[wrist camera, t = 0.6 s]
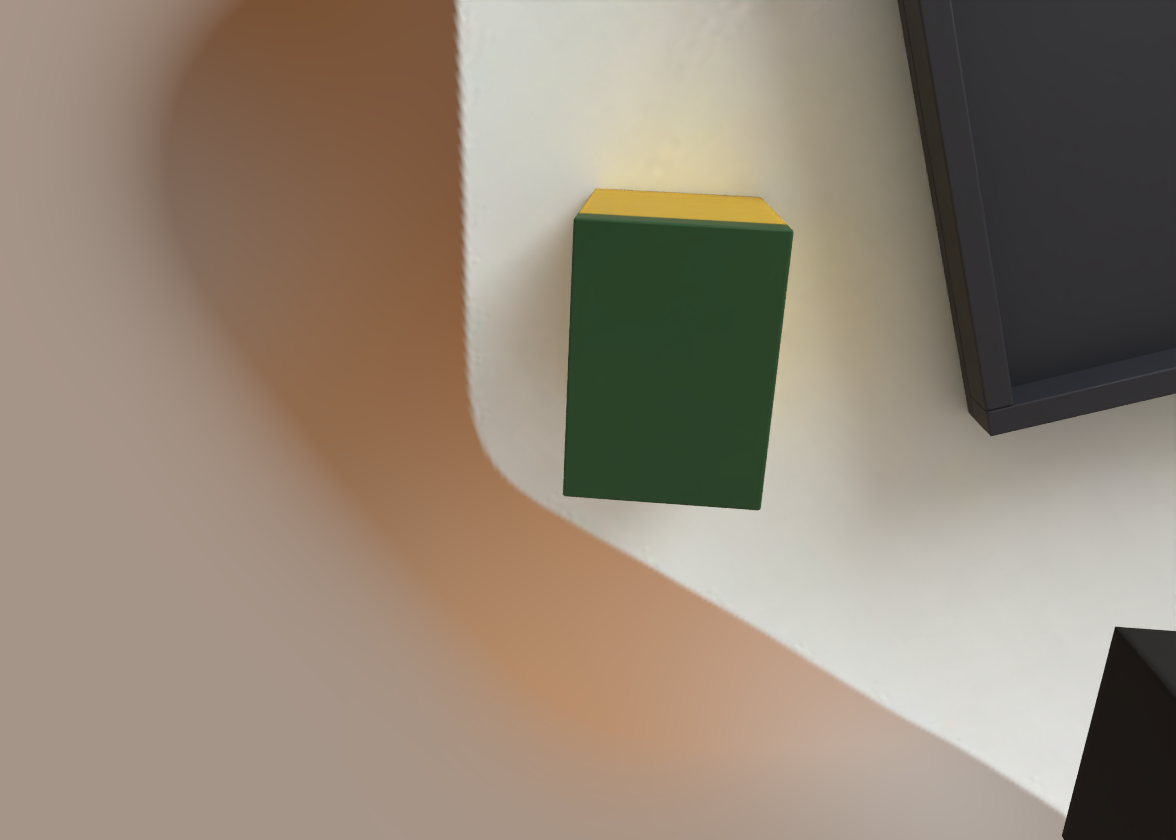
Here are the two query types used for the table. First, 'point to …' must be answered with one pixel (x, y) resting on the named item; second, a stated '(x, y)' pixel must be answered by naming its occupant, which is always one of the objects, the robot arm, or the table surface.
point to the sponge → (673, 347)
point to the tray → (1052, 197)
